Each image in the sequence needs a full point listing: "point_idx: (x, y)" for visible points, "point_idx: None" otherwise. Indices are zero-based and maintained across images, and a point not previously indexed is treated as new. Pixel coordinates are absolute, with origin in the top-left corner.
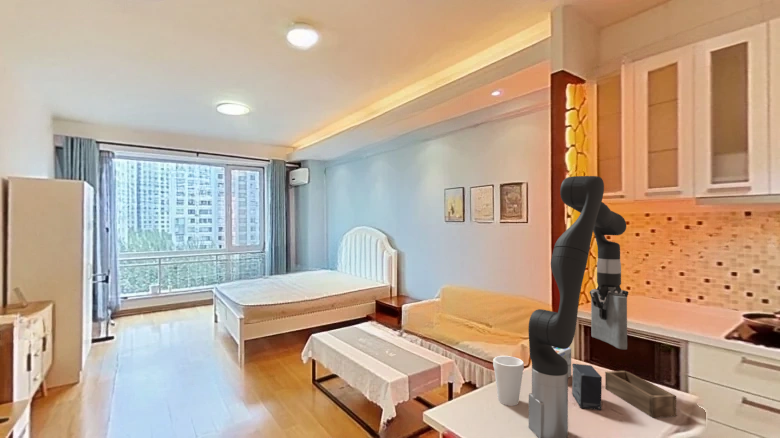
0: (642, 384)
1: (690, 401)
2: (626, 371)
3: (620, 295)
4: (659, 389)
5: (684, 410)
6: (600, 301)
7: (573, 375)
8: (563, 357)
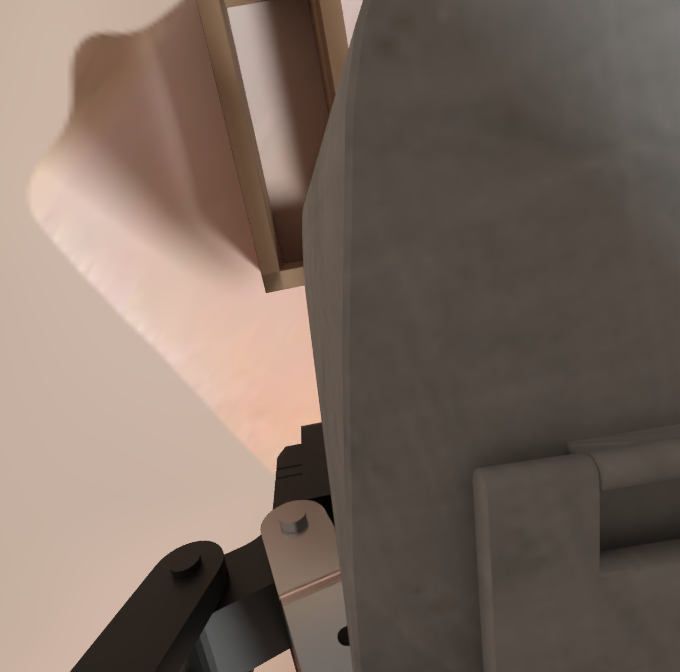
0: (254, 154)
1: (50, 149)
2: (269, 280)
3: (478, 546)
4: (224, 29)
5: (133, 51)
6: None
7: None
8: None
